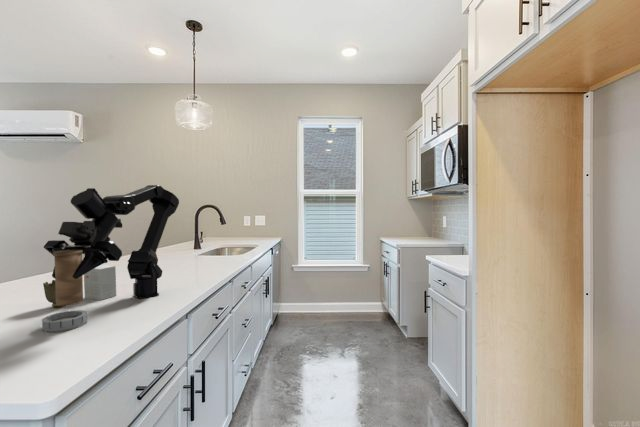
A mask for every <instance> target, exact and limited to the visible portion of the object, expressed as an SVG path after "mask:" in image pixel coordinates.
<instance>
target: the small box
mask: <svg viewBox="0 0 640 427" xmlns="http://www.w3.org/2000/svg"><path fill="white" fill-rule="evenodd" d="M116 268H117V267H116V265H104V264H102V265H100V266H98V267H96V268H94V269H92V270H91V271H89V272H87V273H86V274H84V275H83V285H84V286H83V294H84V299H89V300H97V301H98V300H99V301H102V300H105V299H109V298H112V297H116V296H117V276H116V273H117V272H116Z"/></svg>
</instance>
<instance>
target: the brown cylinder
mask: <svg viewBox="0 0 640 427" xmlns="http://www.w3.org/2000/svg"><path fill="white" fill-rule="evenodd" d="M82 253H83V250H81V249H73V250H61V251H55V252H53V255H52V256H53V257H54V256H55V257H54V266H55V278H54V280H55V288H56V305H59V306H64V305H66V306H69V305H70V306H71V305H75V304H79V303H81V302H83V301H84V286H83V285H84V276H83V275H82V276H81V277H79V278H77V279H74V278H73V275H74V273H75V271H76V270H77V268H78V266H79V265H80V263H81V262H82V260H83V254H82ZM64 307H65V306H64Z"/></svg>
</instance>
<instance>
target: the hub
mask: <svg viewBox="0 0 640 427" xmlns="http://www.w3.org/2000/svg"><path fill="white" fill-rule="evenodd" d="M87 322H88V312H87V310H81V309H77V310H76V309H75V310H67V311H66V310H65V311H61V312H56V313H53V314H50V315H47V316H45V317H43V318H42V319H41V324H42V325H41V327H42V332H44V333H59V332H60V333H61V332H66V331H70V330H76V329H78V328H79V327H83V326H84V325H86V324H87Z"/></svg>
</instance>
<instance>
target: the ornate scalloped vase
mask: <svg viewBox="0 0 640 427" xmlns="http://www.w3.org/2000/svg"><path fill="white" fill-rule="evenodd" d="M42 285H43V290H44V296H45V299H46V301H48V302H49V303H52V304H51V306H52V308H54V309H55V308H56V309H59V308H64V307H66V306H67V305H64V306H59V305H56V288H55V279H52V281H51V282H48V281H45V282H43V284H42Z"/></svg>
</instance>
